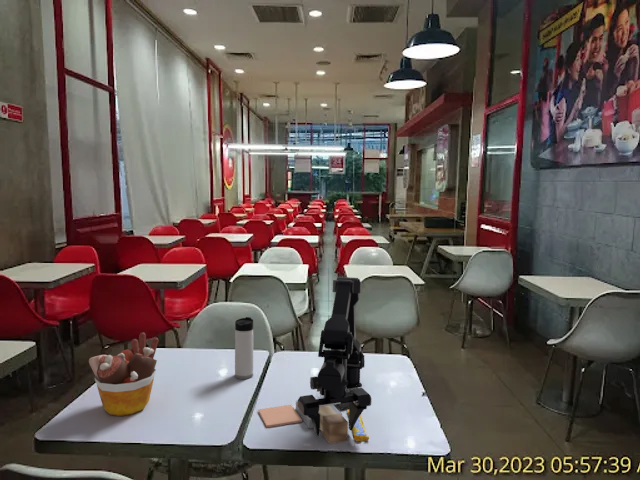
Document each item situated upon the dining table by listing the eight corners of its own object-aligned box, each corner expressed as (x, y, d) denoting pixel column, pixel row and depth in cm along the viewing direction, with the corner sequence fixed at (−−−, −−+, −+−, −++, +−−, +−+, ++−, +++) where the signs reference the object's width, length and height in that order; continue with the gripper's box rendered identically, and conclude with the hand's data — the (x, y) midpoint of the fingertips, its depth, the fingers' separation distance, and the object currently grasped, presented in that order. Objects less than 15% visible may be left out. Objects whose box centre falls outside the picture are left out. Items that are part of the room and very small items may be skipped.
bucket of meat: (131, 426, 122) (129, 354, 121) (78, 419, 126) (76, 348, 124) (171, 395, 142) (170, 333, 140) (124, 390, 145) (123, 328, 144)
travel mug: (256, 373, 161) (257, 317, 159) (247, 380, 155) (248, 322, 153) (241, 371, 163) (241, 316, 161) (231, 377, 157) (231, 320, 155)
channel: (325, 404, 138) (326, 396, 138) (341, 422, 127) (341, 414, 126) (295, 409, 134) (295, 400, 134) (309, 428, 123) (309, 419, 123)
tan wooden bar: (325, 416, 130) (326, 401, 130) (337, 432, 122) (338, 415, 122) (312, 418, 129) (312, 403, 129) (323, 434, 121) (324, 418, 120)
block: (339, 431, 122) (340, 413, 122) (347, 440, 117) (347, 422, 117) (322, 434, 120) (322, 416, 120) (329, 444, 116) (329, 425, 115)
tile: (291, 406, 136) (291, 404, 136) (301, 421, 127) (302, 419, 127) (258, 411, 132) (258, 409, 132) (266, 427, 123) (266, 425, 123)
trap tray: (351, 396, 144) (351, 390, 143) (361, 406, 137) (361, 399, 137) (331, 399, 141) (331, 393, 141) (340, 409, 135) (340, 403, 134)
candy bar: (369, 444, 117) (370, 437, 116) (353, 444, 116) (353, 437, 116) (361, 413, 133) (361, 407, 133) (346, 413, 133) (346, 407, 133)
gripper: (354, 360, 129) (353, 413, 130) (291, 367, 122) (290, 423, 123) (373, 374, 118) (371, 432, 120) (305, 383, 112) (304, 444, 113)
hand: (334, 432), depth 119 cm, fingers open, 9 cm apart
